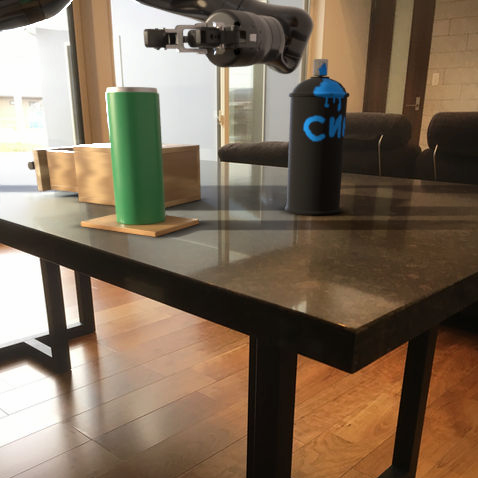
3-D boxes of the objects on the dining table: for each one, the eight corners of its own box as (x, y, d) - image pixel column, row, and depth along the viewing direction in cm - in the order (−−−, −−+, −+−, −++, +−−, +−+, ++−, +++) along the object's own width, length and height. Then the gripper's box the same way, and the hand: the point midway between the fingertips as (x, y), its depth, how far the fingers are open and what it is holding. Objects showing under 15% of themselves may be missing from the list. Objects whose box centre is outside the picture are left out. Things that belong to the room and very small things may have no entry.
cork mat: (80, 226, 66) (80, 221, 65) (128, 215, 73) (128, 210, 73) (155, 237, 60) (155, 232, 60) (199, 223, 67) (199, 219, 67)
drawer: (21, 189, 91) (15, 148, 88) (69, 182, 99) (64, 145, 97) (100, 197, 82) (96, 152, 79) (145, 189, 91) (142, 148, 88)
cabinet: (79, 201, 84) (72, 145, 81) (129, 192, 93) (125, 142, 90) (155, 210, 77) (151, 149, 73) (201, 199, 86) (199, 144, 83)
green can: (106, 221, 65) (93, 87, 60) (138, 214, 70) (129, 89, 65) (144, 226, 63) (135, 86, 57) (175, 218, 68) (169, 88, 62)
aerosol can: (274, 208, 78) (278, 60, 71) (319, 204, 82) (327, 63, 74) (305, 217, 71) (313, 55, 64) (352, 212, 75) (365, 58, 67)
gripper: (198, 12, 80) (126, 6, 68) (280, 8, 74) (216, 0, 61) (200, 66, 84) (132, 69, 71) (278, 67, 77) (218, 70, 65)
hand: (171, 37), depth 66 cm, fingers open, 8 cm apart
